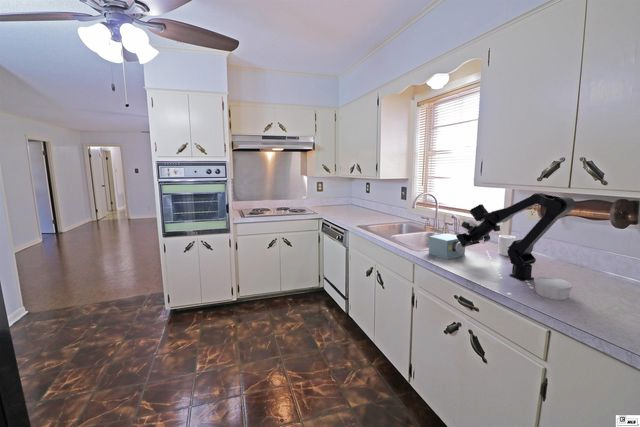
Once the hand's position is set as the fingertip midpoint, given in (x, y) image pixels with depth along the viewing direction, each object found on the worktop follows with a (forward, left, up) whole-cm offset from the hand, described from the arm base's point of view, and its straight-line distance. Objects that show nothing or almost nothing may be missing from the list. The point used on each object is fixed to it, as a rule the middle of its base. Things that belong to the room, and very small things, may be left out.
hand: (462, 246), depth 151 cm
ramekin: (-46, -4, -7) cm, 46 cm away
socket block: (+10, +3, -7) cm, 12 cm away
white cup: (+1, -28, -7) cm, 29 cm away
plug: (+8, +2, -4) cm, 9 cm away
